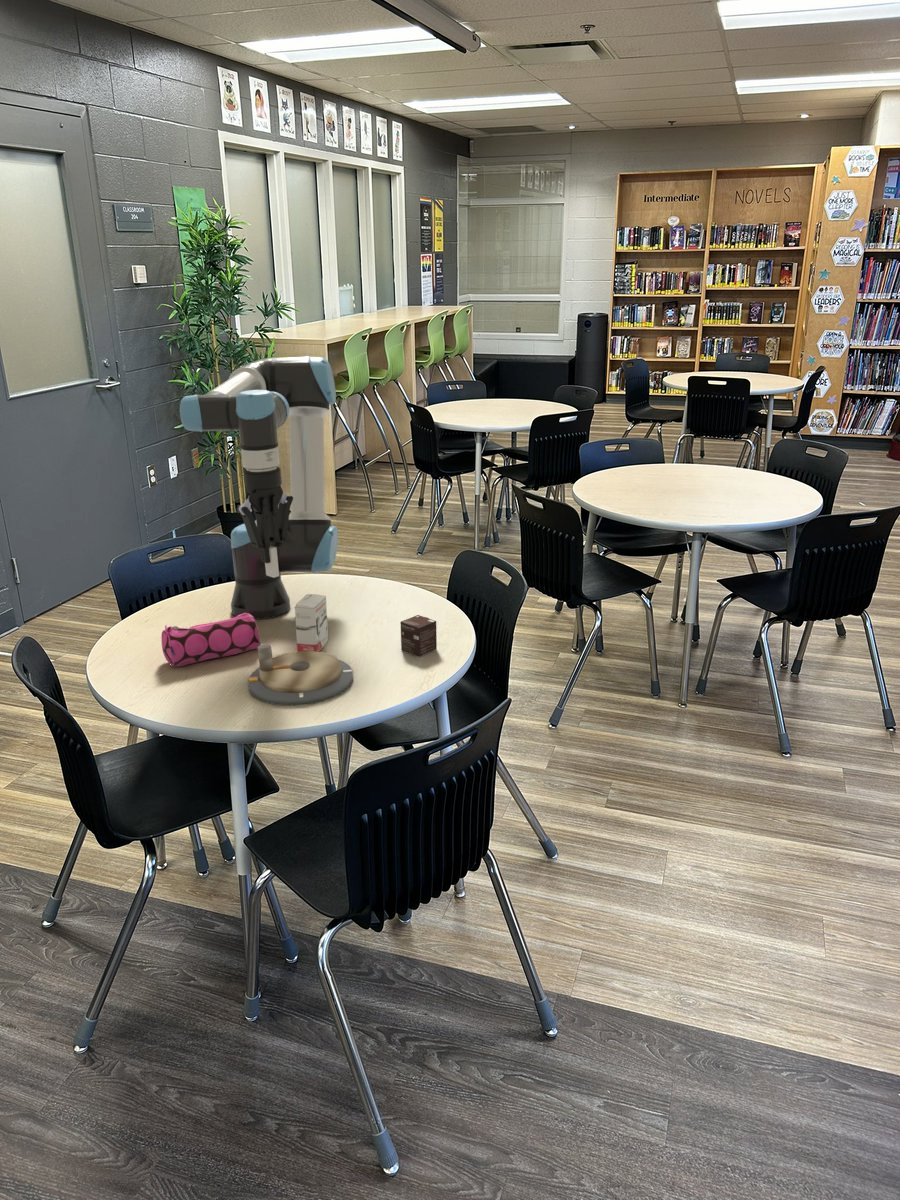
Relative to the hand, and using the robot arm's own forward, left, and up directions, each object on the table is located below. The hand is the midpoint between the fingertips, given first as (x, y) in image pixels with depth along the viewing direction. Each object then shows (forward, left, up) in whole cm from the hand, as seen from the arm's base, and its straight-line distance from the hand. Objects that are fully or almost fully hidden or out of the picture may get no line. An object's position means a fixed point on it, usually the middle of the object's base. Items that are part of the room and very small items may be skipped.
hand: (272, 575), depth 192 cm
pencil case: (-8, -15, -22) cm, 28 cm away
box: (-2, +31, -21) cm, 38 cm away
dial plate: (+10, +4, -21) cm, 24 cm away
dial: (+10, +4, -20) cm, 22 cm away
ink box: (-9, +7, -21) cm, 24 cm away
